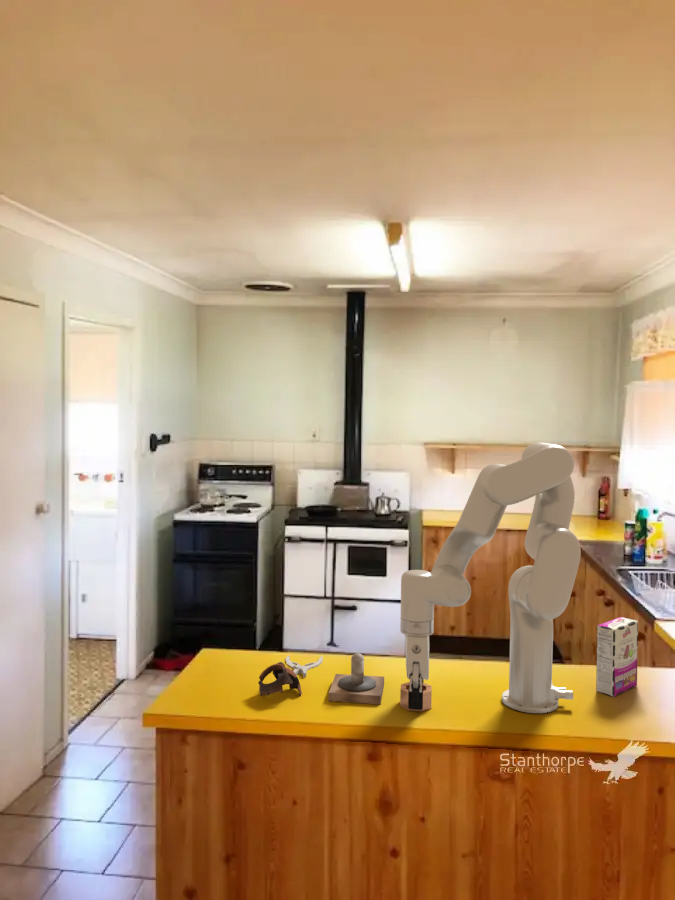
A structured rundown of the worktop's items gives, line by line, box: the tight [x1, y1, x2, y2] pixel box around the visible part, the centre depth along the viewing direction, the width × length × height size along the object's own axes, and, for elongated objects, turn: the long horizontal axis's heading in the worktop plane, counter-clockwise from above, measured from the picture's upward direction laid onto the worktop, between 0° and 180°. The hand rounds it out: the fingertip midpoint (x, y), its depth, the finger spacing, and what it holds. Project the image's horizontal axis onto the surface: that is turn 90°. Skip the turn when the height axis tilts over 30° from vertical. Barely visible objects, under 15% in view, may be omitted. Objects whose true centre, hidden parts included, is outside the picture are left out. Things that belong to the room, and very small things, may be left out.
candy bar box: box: [595, 616, 639, 698], centre depth 175 cm, size 11×5×16 cm, turn 129°
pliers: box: [285, 655, 324, 678], centre depth 188 cm, size 10×2×15 cm
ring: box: [399, 681, 433, 712], centre depth 165 cm, size 7×7×4 cm
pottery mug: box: [258, 661, 303, 697], centre depth 171 cm, size 12×10×8 cm
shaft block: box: [328, 652, 385, 705], centre depth 171 cm, size 12×12×10 cm
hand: (415, 700), depth 165 cm, fingers open, 7 cm apart
